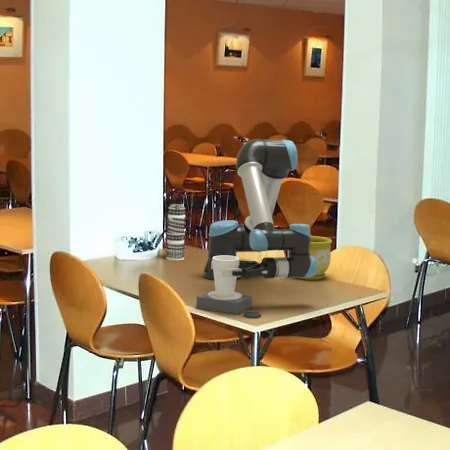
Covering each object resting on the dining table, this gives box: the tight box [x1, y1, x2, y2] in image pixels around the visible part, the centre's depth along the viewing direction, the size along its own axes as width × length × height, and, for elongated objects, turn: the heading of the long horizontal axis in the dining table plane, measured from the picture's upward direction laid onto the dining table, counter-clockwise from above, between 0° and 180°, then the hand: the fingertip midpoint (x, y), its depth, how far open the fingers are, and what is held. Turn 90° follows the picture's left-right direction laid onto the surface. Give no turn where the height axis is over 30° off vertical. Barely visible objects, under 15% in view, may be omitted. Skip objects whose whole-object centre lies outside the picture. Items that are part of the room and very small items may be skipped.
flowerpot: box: [298, 235, 333, 281], centre depth 349 cm, size 18×18×16 cm
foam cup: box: [212, 255, 240, 296], centre depth 289 cm, size 10×9×13 cm
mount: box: [196, 290, 253, 315], centre depth 291 cm, size 16×12×5 cm
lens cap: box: [243, 310, 262, 319], centre depth 281 cm, size 6×6×1 cm
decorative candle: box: [165, 203, 187, 261], centre depth 376 cm, size 9×9×25 cm
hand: (216, 269), depth 288 cm, fingers open, 13 cm apart
